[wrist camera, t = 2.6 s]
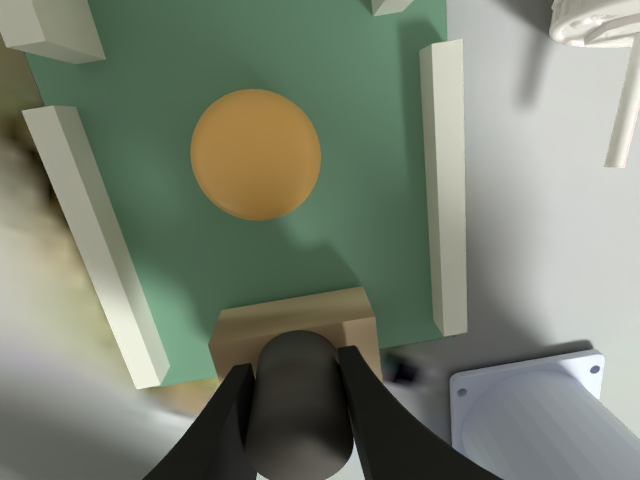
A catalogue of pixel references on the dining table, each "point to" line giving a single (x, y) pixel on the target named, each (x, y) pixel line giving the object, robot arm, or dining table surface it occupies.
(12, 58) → the dining table surface
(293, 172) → the ball
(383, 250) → the pitch
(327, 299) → the striker
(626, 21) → the smoothie
